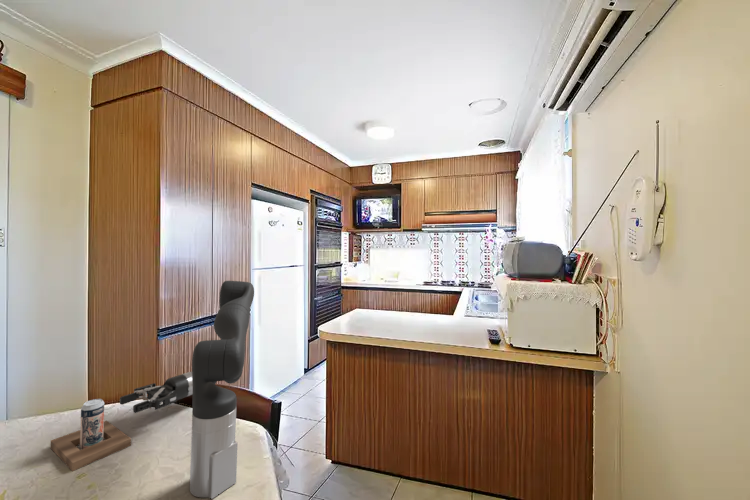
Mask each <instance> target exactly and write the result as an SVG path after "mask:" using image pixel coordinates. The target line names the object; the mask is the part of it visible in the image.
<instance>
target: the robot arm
mask: <svg viewBox="0 0 750 500" xmlns="http://www.w3.org/2000/svg"><path fill="white" fill-rule="evenodd" d="M254 297H255V288H254V285H253V283H251V282H249V281H241V280H225V281H223V282H222V284H221V287H220V290H219V297H218V298H219V300H218V301H219V302H218V303H219V309H218V310H217V313H216V316H215V318H214V322H213V329H214V330H213V331H214V332H215V334H216V336H217V337H218V338H219V339H212V340H210V339H209V340H201V341H199V342H197V344H196V345H195V346H194V348H193V351H192V358H191V371H188V372H185V373H182V374H178V375H176V376H173V377H169V378H167V379H166V380H165V381H164V383H163V385H157V383H155V382H154V383H150V384H146V385H144V386H140V387H136V388H134V389H133V392H132V393H128V394H125V395H122V396H120V397H119V404H120V405H123V406H124V405H125V404H128V403H131V402H134V401H137V400H142V401H141V402H139V403H138V402H137V403H136V404H134V405H133V407H132V412H133V413H134V414H137V413H140V412H143V411H145V410H147V409H150V410H151V409H154V410H160V409H161V408H165V407H167V406H170V405H172V404H174V403H176V402H177V401H180V400H182V399H184V398H187V397H190V396H192V397H191V398H192V404H191V405H192V406H191V407H192V408H191V409H192V411H191V413H192V415H191V436H190V438H191V439H190V440H191V443H190V470H189V475H190V476H189V491H190V493H191V495H192V496H194V497H196V498H208V499H210V498H211V500H212V499H215V498H216V497H217V496H219V495H220V494H222V493H223V492H224V491H226V490H228V489H229V488H230V487H232V486H233V485H235V484H236V483H237V475H238V474H237V468H238V467H237V466H238V442H237V441H236V427H237V405H238V404H237V403H238V401H237V400H238V399H237V395H236V393H235V392H234V391H233V390H231V389H228V388H225V387H223V386H218V385H216V384H217V382H225V383H227V384H230V385H231V384H235V383H237V382H238V381H239V380H240V379H241V377H242V374H243V369H244V365H245V360H246V359H245V358H246V340H247V339H246V338H247V333H248V328H249V324H250V316H251V315H250V314H251V307H252V304H253V302H254V301H253V300H254ZM218 494H219V495H218Z"/></svg>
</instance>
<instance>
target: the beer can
mask: <svg viewBox="0 0 750 500" xmlns="http://www.w3.org/2000/svg"><path fill="white" fill-rule="evenodd" d="M104 421H105V401H104V400H103V399H102V398H94V399H90V400H87V401H85V402H84V403H83V405H82V406H81V408H80V429H79V430H80V445H79V450H82V449H84V448H87V447H89V446H92V445H94V444H97V443H99V442H102V441H104V438H103V434H104Z"/></svg>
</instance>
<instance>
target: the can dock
mask: <svg viewBox="0 0 750 500" xmlns="http://www.w3.org/2000/svg"><path fill="white" fill-rule="evenodd" d="M131 446H132V437H130V436H128V435H127V434H126V433H124V432H123V431H122V430H120V429H119V428H117V427H116V426H115V425H114V424H112V423H111V422H109V421H108V420H104V434H103V441H102V442H99V443H97V444H94V445H92V446H89V447H87V448H84V449H82V450H81V449H80V448H78V447H80V429H79V430H75V431H73V432H71V433H68V434H65V435H64V434H63V436H62V435H61V436H60V437H56V438H52V439H50V447H49V448H50V449H51V450H52V452H53V453H55V455H57V457H58V458H59V459H60V460H61V461H62V462H63V463H64V464H65V465H66V466H67V468H69V469H70V470H71V471H72V472H74V471H77V470H79V469H80V468H81V469H82V468H84V467H85V466H88V465H90V464H92V463H93V464H94V462H97V461H99V460H102V459H104V458H106V457H108V456H110V455H113V454H115V453H117V452H120V451H123V450H124V449H126V448H128V447H131Z"/></svg>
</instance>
